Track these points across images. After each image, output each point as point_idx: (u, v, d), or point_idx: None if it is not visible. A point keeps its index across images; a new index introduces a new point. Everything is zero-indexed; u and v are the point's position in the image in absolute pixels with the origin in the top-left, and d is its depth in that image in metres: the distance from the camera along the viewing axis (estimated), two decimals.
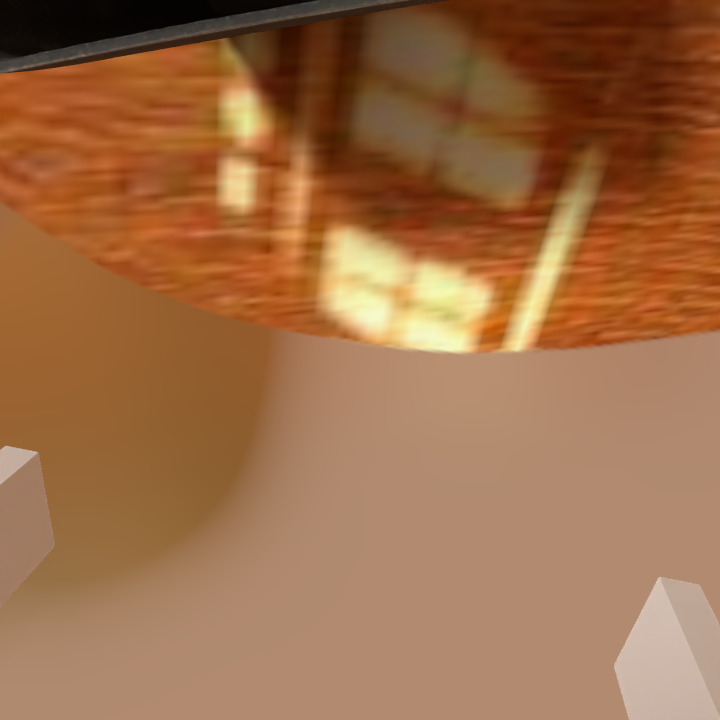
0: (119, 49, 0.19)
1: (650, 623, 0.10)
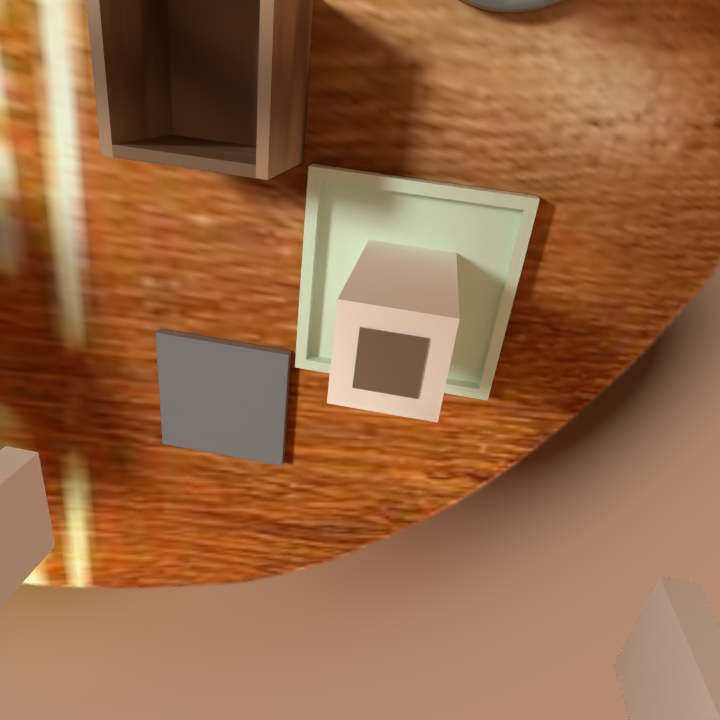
0: None
1: (651, 623, 0.10)
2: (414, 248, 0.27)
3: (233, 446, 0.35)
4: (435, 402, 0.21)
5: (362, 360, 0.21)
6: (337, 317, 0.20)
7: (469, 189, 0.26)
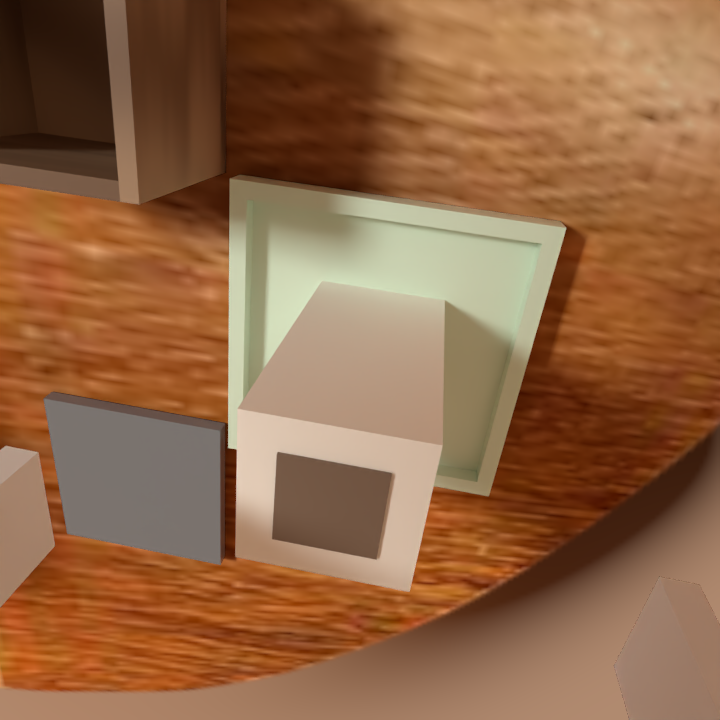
0: None
1: (651, 623, 0.10)
2: (385, 294, 0.19)
3: (156, 539, 0.27)
4: (405, 564, 0.13)
5: (284, 500, 0.13)
6: (240, 436, 0.12)
7: (462, 213, 0.18)
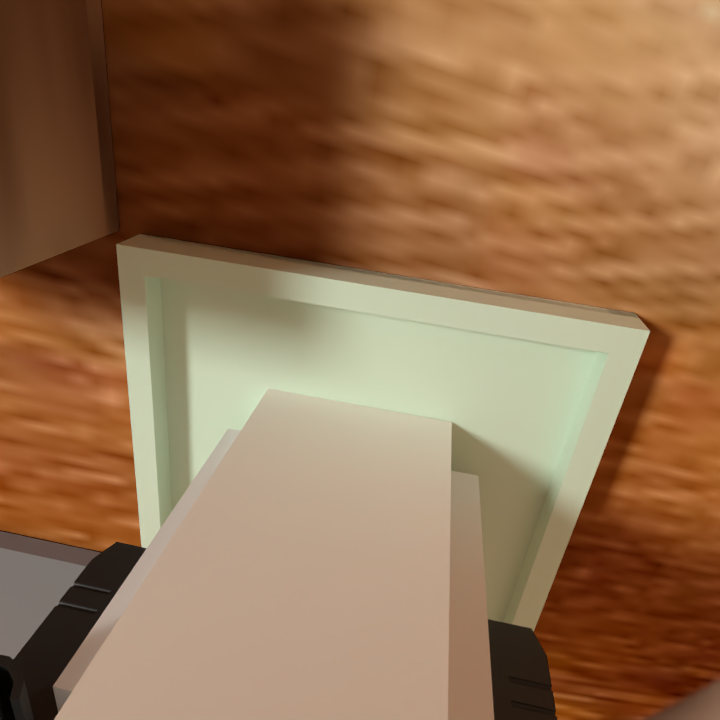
0: None
1: None
2: (361, 415, 0.13)
3: None
4: None
5: None
6: None
7: (481, 304, 0.11)
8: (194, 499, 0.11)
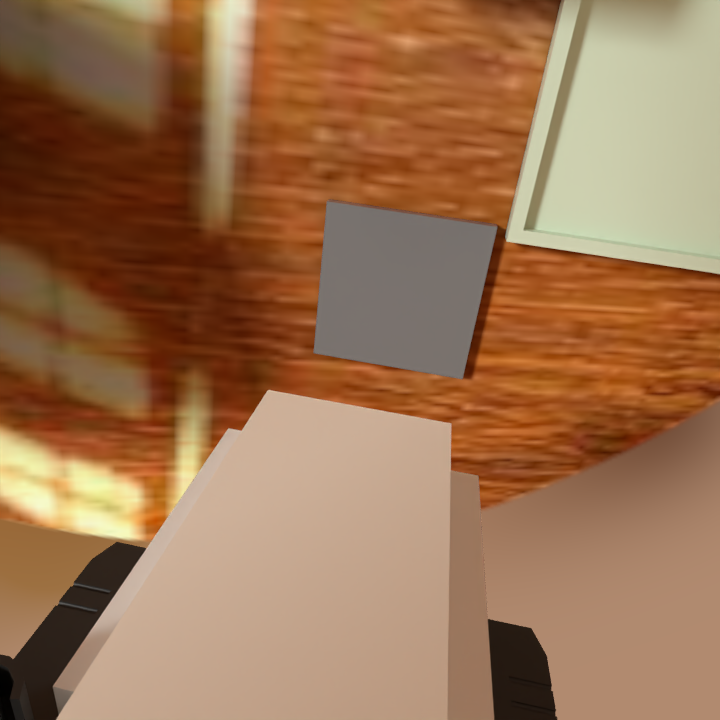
0: None
1: None
2: (360, 416, 0.13)
3: (403, 354, 0.28)
4: None
5: None
6: None
7: None
8: (194, 499, 0.11)
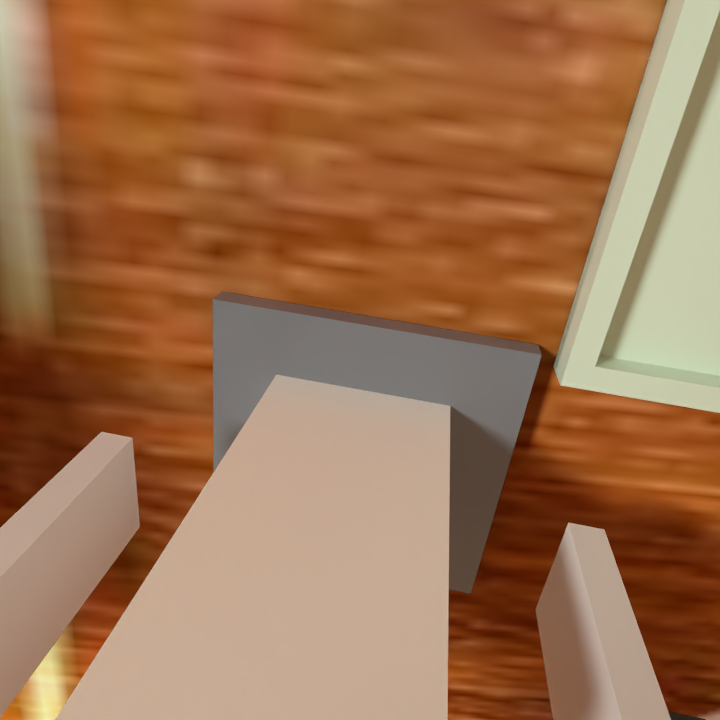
0: None
1: (561, 564, 0.12)
2: (364, 399, 0.13)
3: None
4: None
5: None
6: None
7: None
8: (36, 508, 0.10)
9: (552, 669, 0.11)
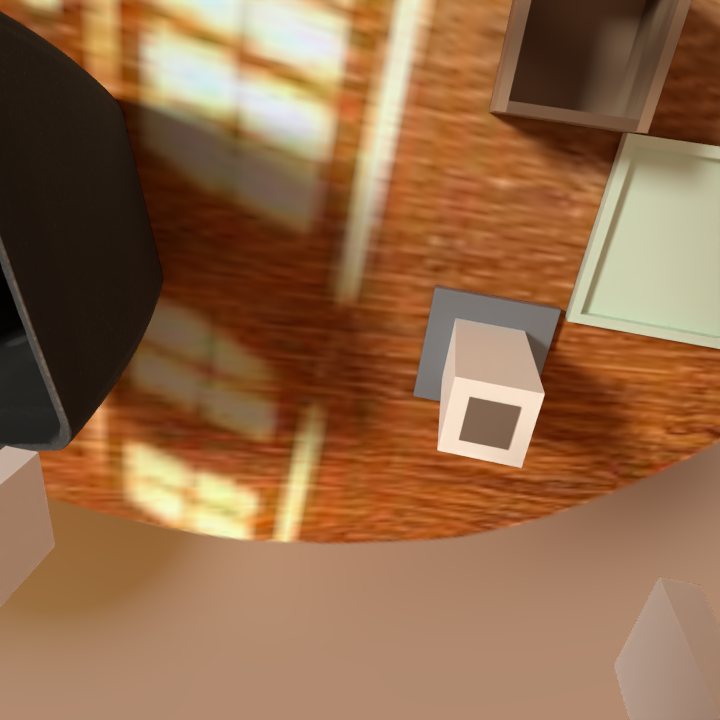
0: None
1: (650, 623, 0.10)
2: (492, 327, 0.35)
3: None
4: (521, 453, 0.29)
5: (468, 420, 0.28)
6: (453, 389, 0.28)
7: None
8: None
9: None
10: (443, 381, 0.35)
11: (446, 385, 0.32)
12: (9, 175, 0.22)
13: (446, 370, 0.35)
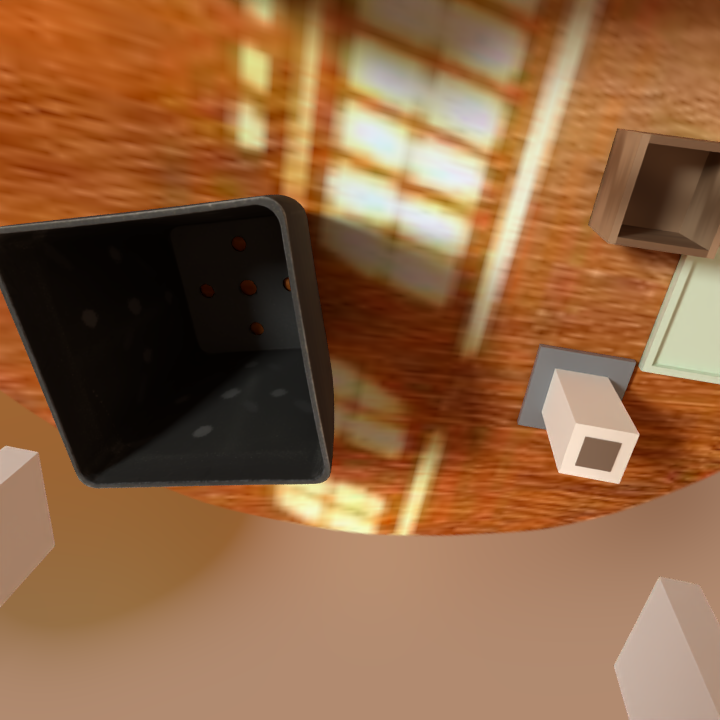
0: (154, 486, 0.39)
1: (651, 623, 0.10)
2: (584, 375, 0.47)
3: None
4: (619, 473, 0.41)
5: (583, 452, 0.40)
6: (574, 431, 0.40)
7: None
8: None
9: None
10: (547, 416, 0.47)
11: (557, 423, 0.44)
12: (307, 311, 0.33)
13: (550, 408, 0.47)
